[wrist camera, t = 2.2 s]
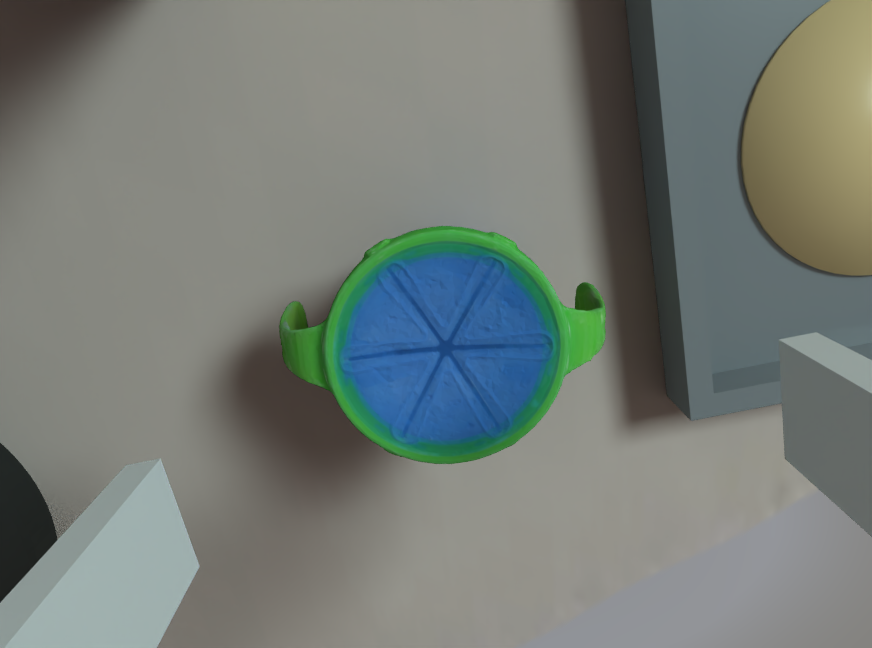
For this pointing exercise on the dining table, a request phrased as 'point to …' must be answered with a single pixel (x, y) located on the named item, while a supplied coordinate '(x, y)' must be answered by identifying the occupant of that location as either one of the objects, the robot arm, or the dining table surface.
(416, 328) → the snack cup
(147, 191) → the dining table surface
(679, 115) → the tray
